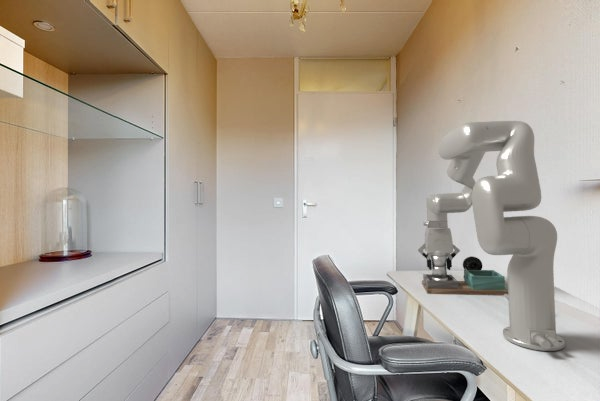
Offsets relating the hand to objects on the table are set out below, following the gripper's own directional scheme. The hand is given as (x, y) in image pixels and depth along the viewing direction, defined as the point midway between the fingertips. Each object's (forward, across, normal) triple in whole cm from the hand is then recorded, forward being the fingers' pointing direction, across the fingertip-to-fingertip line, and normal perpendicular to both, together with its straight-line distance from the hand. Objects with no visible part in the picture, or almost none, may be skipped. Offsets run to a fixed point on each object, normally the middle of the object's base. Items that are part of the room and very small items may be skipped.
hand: (439, 268), depth 126 cm
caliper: (+9, +21, -18) cm, 29 cm away
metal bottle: (+8, 0, 0) cm, 8 cm away
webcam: (+8, +17, +17) cm, 25 cm away
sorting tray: (+8, +8, 0) cm, 11 cm away
